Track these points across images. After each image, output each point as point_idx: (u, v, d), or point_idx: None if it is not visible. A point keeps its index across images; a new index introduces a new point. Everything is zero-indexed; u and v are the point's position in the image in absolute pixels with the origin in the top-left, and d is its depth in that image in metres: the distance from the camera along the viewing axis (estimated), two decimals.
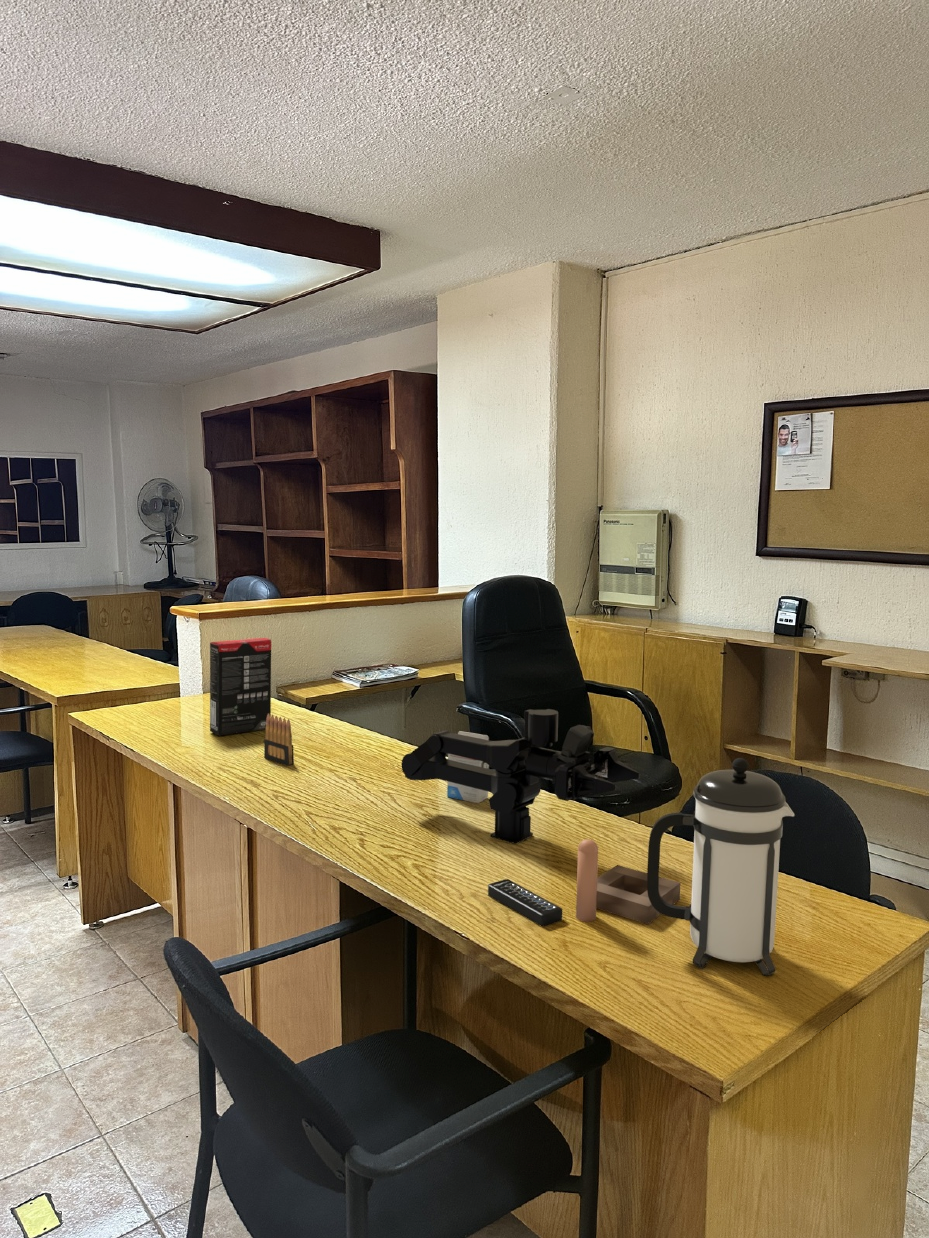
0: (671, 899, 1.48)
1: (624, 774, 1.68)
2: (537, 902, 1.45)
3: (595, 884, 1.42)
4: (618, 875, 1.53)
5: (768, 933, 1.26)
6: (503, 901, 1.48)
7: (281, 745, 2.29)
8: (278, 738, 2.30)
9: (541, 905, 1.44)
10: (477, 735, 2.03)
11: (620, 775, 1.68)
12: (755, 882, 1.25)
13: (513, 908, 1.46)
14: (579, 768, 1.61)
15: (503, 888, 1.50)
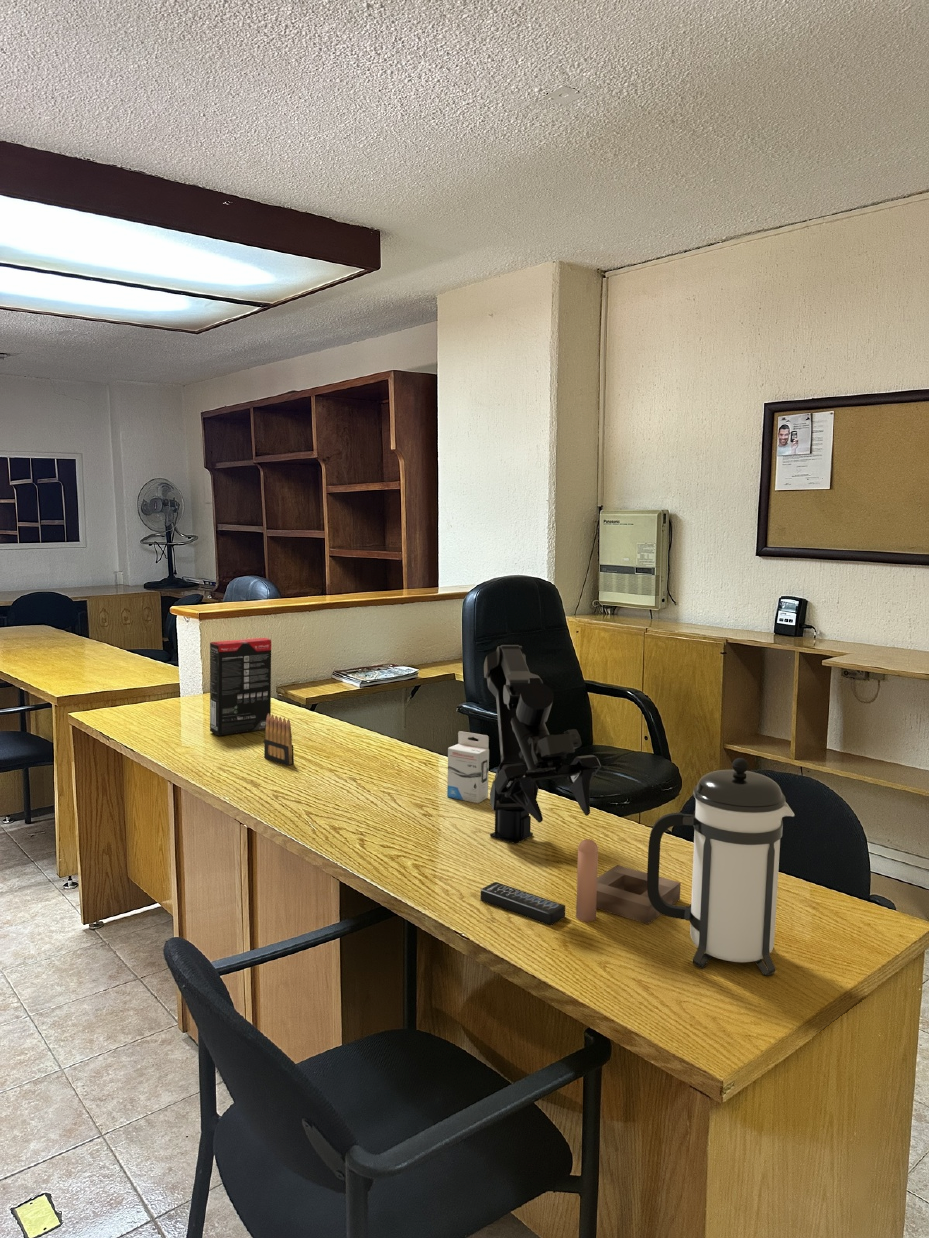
0: (671, 899, 1.48)
1: (580, 799, 1.54)
2: (538, 902, 1.45)
3: (595, 884, 1.42)
4: (618, 875, 1.53)
5: (768, 933, 1.26)
6: (500, 905, 1.47)
7: (281, 745, 2.29)
8: (278, 738, 2.30)
9: (543, 904, 1.44)
10: (477, 735, 2.03)
11: (578, 796, 1.55)
12: (755, 882, 1.25)
13: (513, 910, 1.45)
14: (524, 780, 1.49)
15: (497, 891, 1.49)
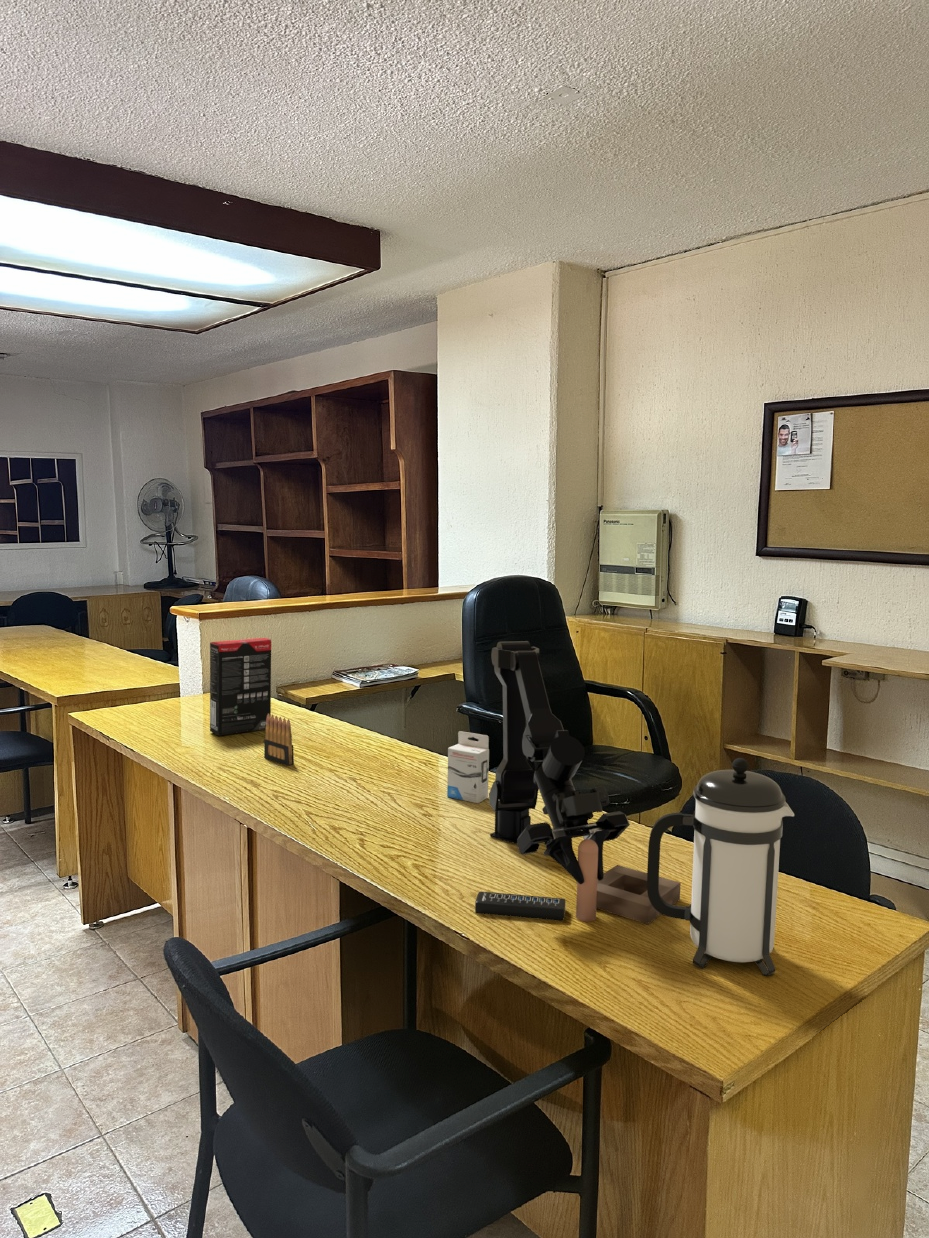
0: (671, 899, 1.48)
1: None
2: (539, 901, 1.45)
3: (595, 884, 1.42)
4: (618, 875, 1.53)
5: (768, 933, 1.26)
6: (501, 913, 1.44)
7: (281, 745, 2.29)
8: (278, 738, 2.30)
9: (546, 902, 1.45)
10: (477, 735, 2.03)
11: None
12: (755, 882, 1.25)
13: (518, 915, 1.44)
14: (564, 839, 1.42)
15: (493, 900, 1.45)
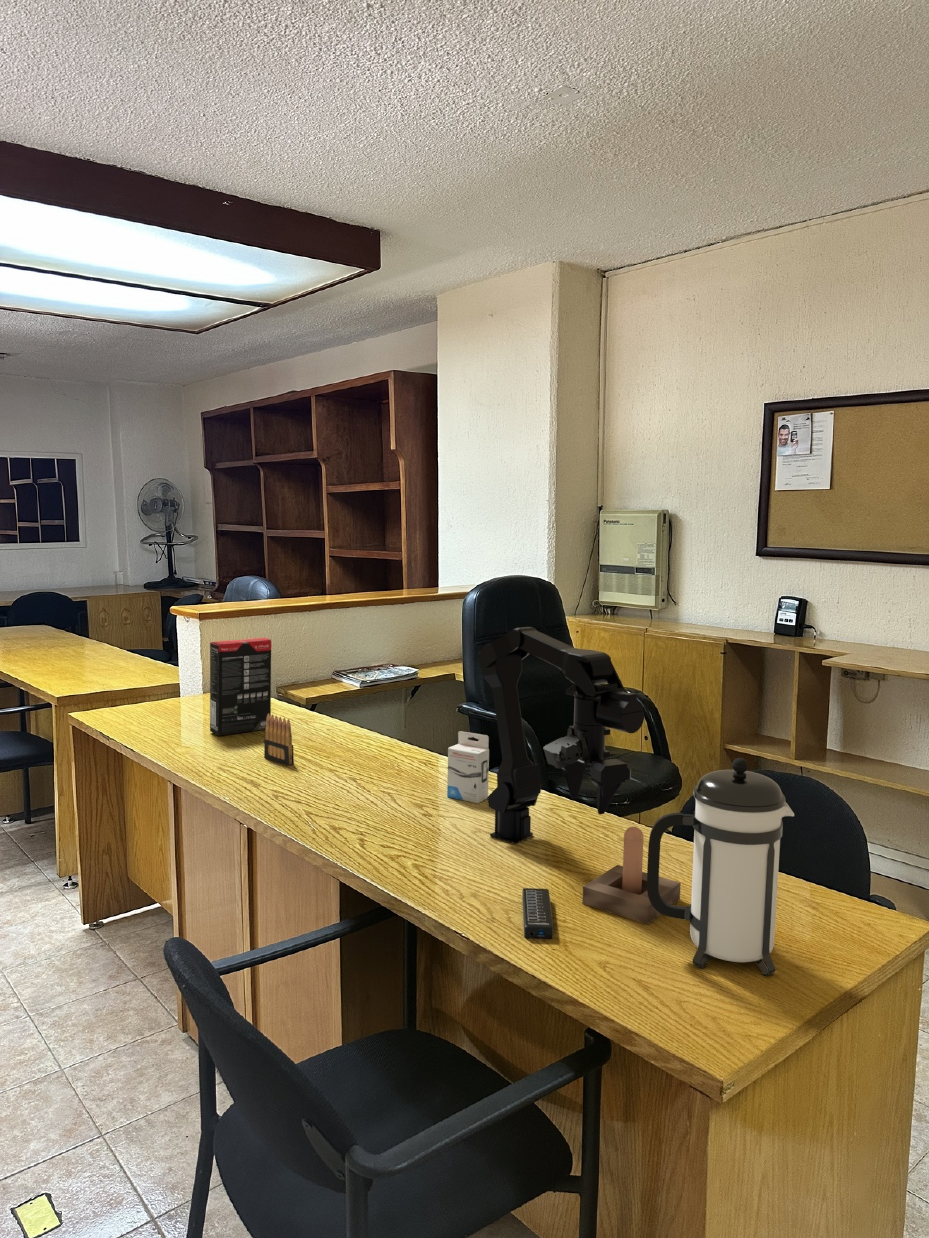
0: (671, 899, 1.48)
1: None
2: (535, 898, 1.46)
3: (641, 870, 1.48)
4: (618, 875, 1.53)
5: (768, 933, 1.26)
6: None
7: (281, 745, 2.29)
8: (278, 738, 2.30)
9: (536, 895, 1.48)
10: (477, 735, 2.03)
11: None
12: (755, 882, 1.25)
13: None
14: None
15: (544, 919, 1.39)
